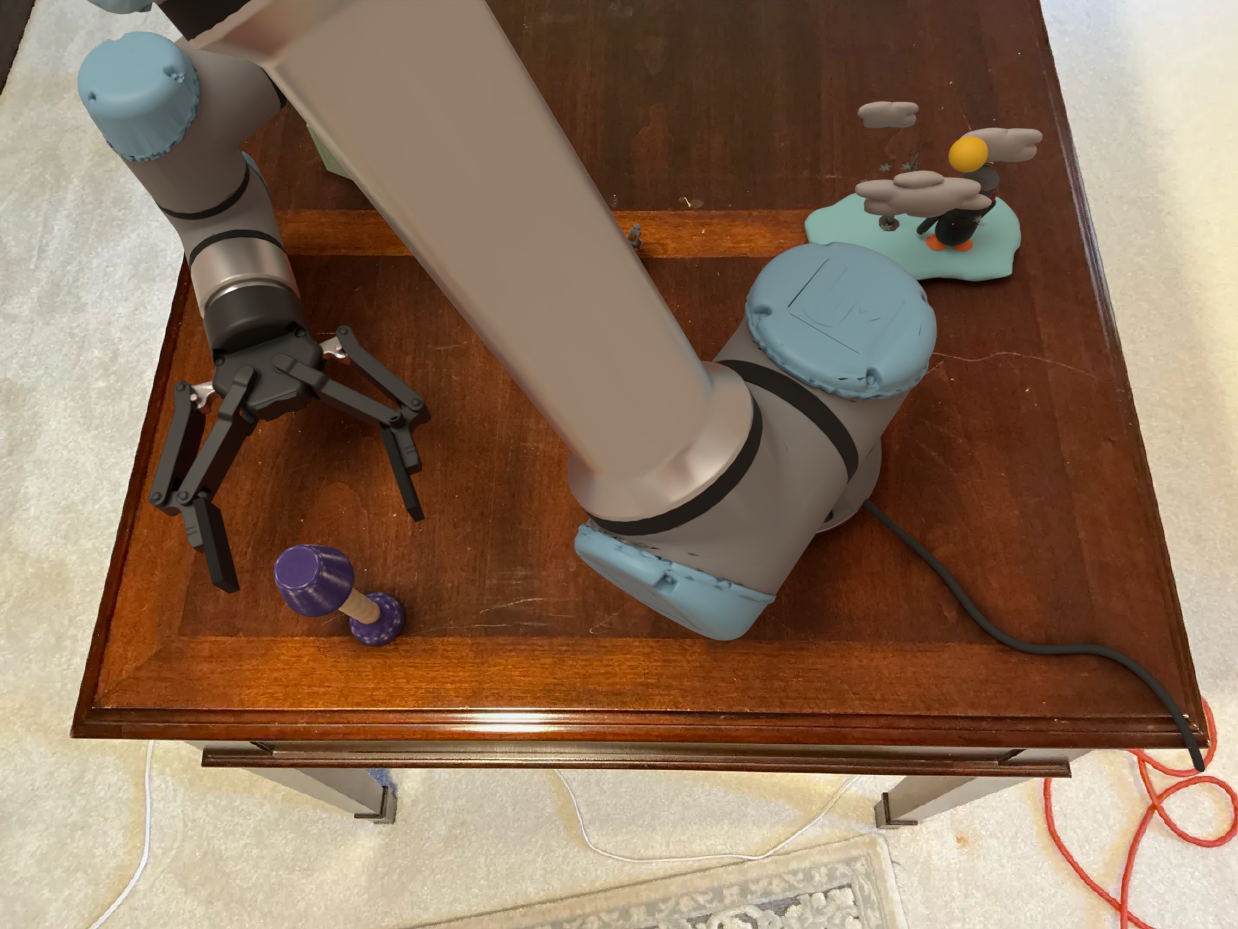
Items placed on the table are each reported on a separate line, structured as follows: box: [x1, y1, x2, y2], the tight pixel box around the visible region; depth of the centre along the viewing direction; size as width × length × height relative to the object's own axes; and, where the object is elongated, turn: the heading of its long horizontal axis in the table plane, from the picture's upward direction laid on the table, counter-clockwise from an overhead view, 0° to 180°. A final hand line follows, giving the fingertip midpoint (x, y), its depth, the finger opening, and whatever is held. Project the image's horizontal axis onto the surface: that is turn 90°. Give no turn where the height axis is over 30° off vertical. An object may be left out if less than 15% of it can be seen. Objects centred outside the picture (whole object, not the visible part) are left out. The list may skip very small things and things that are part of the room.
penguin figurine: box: [804, 100, 1043, 282], centre depth 73 cm, size 20×11×15 cm, turn 90°
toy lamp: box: [273, 543, 405, 648], centre depth 59 cm, size 5×5×17 cm
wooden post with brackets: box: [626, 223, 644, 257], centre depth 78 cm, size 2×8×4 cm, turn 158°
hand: (323, 551), depth 59 cm, fingers open, 13 cm apart
